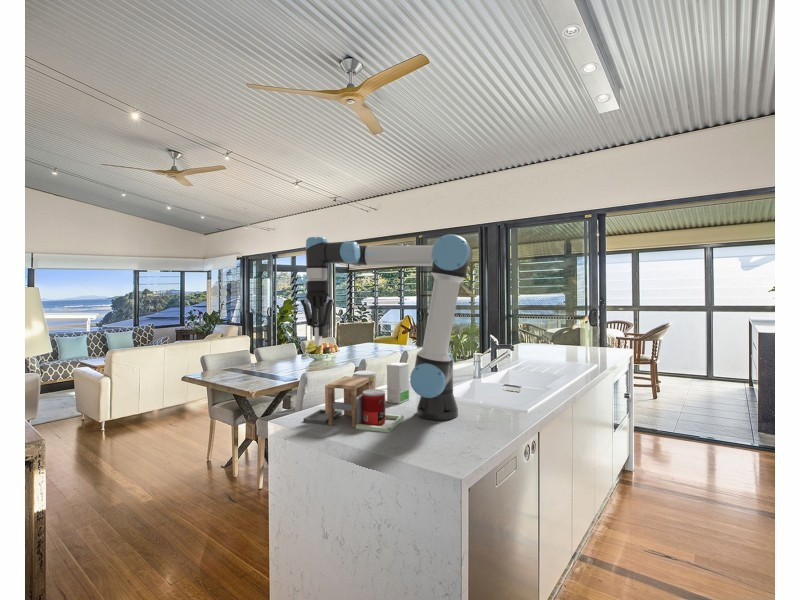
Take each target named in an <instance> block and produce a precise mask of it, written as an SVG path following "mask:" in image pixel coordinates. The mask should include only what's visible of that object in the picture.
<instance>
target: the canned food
mask: <svg viewBox="0 0 800 600" xmlns="http://www.w3.org/2000/svg"><path fill="white" fill-rule="evenodd" d="M362 407H363V422H362V424H363V425H373V426H383V425H384V424H385V423H386V418H385V414H386V391H385V390H384V389H381V388H379V389H377V388H375V389H369V390H365V391H363V393H362Z"/></svg>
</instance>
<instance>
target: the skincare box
mask: <svg viewBox="0 0 800 600" xmlns="http://www.w3.org/2000/svg"><path fill="white" fill-rule="evenodd" d="M409 364H410V363H409V362H398V361H397V362H391V363H387V364H386V395H387V396H386V397H387V399H386V401H387V403H391V404H402V403H405V402H407V401H409V400H410V367H409Z"/></svg>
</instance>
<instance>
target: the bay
mask: <svg viewBox="0 0 800 600" xmlns="http://www.w3.org/2000/svg"><path fill="white" fill-rule="evenodd" d="M404 418H405V417H404V415H403V414H402V415H401V414H390V413H385V420H387V419H389V420H394V421H393V422H392V423H391V424H390V425H389V426H383V425H380V426H373V425H365V424H364V423H360V424H357V425H356V428H355V430H362V431H363V430H364V431H372V432H382V433H391V432H392V431H393V430H394V429H395V428H396V427H398V425H399V424H400V423H401V422H402V421H403V420H404Z"/></svg>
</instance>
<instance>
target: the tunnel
mask: <svg viewBox="0 0 800 600" xmlns="http://www.w3.org/2000/svg"><path fill="white" fill-rule="evenodd" d="M327 384H328V418H329V423H328V426H331V427H332V426H333V425H334V420H333V388H335V389H342V390H343V403H352V411H351V410H343V415H344V416H349V417H351V428H352V429H356V425H357V403H356V397H358V396H360V395H361V394H362V393H363V391H365V390H369V389H370V378H364V377H354V376H346V375H345V376H343V377H341V378H339V379H336V380H334V381H332V382H329V383H327Z"/></svg>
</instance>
